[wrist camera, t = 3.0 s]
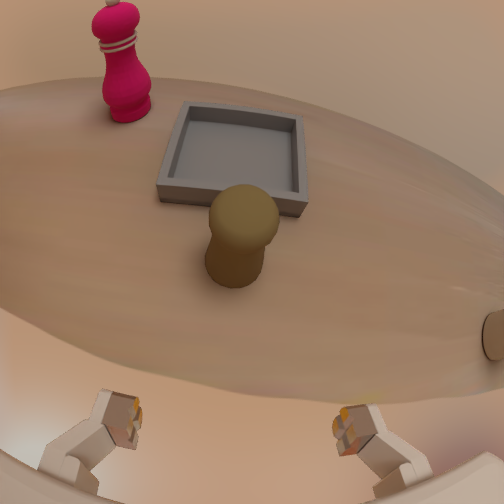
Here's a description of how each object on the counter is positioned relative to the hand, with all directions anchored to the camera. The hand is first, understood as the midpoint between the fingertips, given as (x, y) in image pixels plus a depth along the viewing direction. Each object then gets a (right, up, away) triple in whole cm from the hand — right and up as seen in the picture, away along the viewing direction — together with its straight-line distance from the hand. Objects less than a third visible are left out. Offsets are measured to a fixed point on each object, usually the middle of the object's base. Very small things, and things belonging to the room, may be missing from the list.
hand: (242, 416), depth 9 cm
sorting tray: (-2, +18, +24) cm, 30 cm away
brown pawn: (-1, +5, +20) cm, 21 cm away
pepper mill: (-18, +28, +26) cm, 42 cm away
